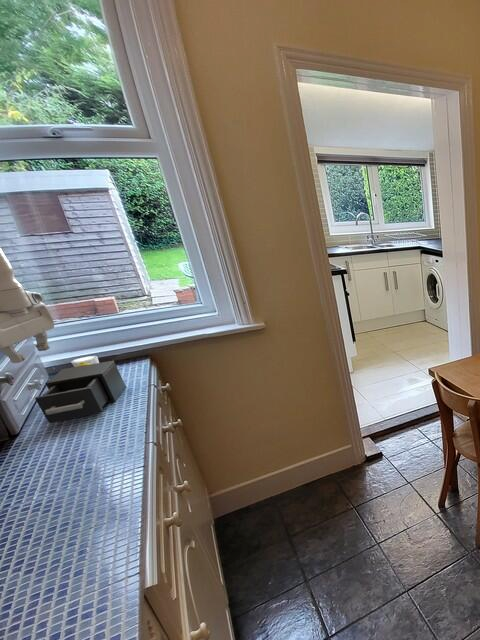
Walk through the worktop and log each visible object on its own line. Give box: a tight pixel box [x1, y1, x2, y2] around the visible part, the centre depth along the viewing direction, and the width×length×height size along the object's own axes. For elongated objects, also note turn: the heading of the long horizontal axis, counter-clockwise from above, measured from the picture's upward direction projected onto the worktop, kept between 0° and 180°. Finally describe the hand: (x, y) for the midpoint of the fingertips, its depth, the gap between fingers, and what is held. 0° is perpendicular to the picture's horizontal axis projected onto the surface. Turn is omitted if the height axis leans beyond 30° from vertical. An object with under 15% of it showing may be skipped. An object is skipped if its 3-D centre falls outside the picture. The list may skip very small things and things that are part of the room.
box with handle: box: [44, 360, 127, 405], centre depth 129 cm, size 14×13×10 cm
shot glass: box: [70, 355, 100, 367], centre depth 148 cm, size 7×7×7 cm
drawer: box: [34, 376, 110, 424], centre depth 119 cm, size 17×11×8 cm
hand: (32, 355), depth 105 cm, fingers open, 8 cm apart
